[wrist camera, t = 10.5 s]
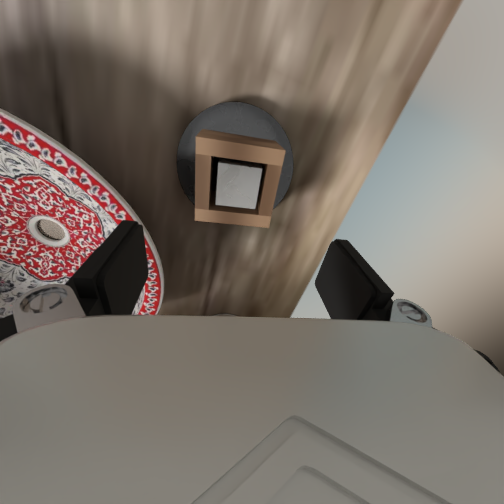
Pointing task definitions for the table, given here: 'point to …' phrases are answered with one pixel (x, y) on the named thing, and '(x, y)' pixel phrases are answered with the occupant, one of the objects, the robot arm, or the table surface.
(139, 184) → the table surface
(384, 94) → the table surface
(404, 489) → the robot arm
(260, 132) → the post base
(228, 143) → the hollow wooden square
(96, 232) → the ceramic bowl
